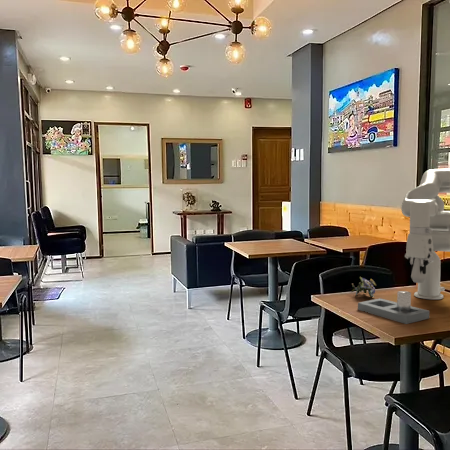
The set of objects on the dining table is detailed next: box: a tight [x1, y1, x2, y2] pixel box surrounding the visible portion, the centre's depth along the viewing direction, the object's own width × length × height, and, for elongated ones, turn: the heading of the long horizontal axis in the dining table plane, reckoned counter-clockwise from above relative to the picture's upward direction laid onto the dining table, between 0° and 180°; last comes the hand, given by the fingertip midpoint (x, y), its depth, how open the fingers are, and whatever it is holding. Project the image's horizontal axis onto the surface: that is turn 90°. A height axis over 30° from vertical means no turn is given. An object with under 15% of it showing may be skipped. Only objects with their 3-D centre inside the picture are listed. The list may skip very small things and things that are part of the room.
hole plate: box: [357, 297, 430, 325], centre depth 182 cm, size 14×24×3 cm, turn 30°
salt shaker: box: [410, 258, 426, 284], centre depth 184 cm, size 6×6×13 cm
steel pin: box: [396, 290, 412, 314], centre depth 177 cm, size 5×5×10 cm
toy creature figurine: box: [351, 276, 377, 298], centre depth 210 cm, size 11×11×12 cm
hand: (418, 274), depth 185 cm, fingers closed on salt shaker, 3 cm apart
